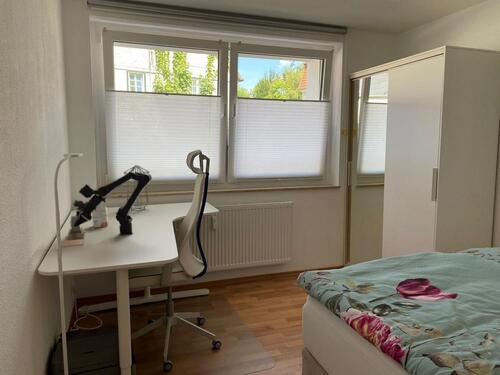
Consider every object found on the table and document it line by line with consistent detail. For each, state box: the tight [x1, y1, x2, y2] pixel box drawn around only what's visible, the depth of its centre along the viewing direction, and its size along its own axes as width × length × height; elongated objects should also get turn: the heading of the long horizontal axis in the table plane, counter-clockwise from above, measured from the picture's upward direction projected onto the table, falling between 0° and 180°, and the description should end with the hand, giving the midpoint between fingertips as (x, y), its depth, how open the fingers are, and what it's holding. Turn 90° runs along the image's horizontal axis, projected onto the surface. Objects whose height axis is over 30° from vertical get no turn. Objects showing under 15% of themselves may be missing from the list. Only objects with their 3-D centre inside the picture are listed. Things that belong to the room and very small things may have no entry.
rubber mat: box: [61, 238, 85, 248], centre depth 199 cm, size 10×10×1 cm
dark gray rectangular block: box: [69, 215, 81, 233], centre depth 211 cm, size 5×4×9 cm
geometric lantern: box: [123, 165, 150, 212], centre depth 289 cm, size 16×16×35 cm
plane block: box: [67, 226, 85, 241], centre depth 212 cm, size 8×11×4 cm
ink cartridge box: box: [91, 203, 109, 228], centre depth 237 cm, size 9×5×15 cm, turn 105°
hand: (73, 224), depth 210 cm, fingers open, 9 cm apart
